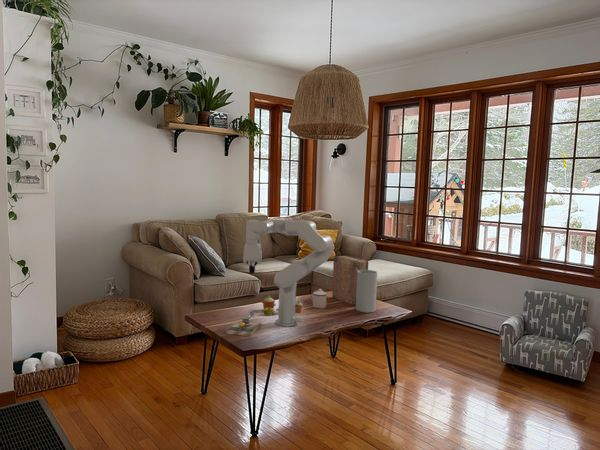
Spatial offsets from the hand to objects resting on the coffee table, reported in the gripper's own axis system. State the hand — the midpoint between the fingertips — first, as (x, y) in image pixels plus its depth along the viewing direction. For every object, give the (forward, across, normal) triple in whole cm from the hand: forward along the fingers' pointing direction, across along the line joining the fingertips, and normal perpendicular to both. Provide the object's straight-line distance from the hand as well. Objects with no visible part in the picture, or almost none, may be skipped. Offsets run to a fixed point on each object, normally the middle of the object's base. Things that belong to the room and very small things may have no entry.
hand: (252, 272), depth 268 cm
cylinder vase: (+27, -63, -41) cm, 80 cm away
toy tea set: (+28, -13, -20) cm, 37 cm away
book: (+27, -50, -60) cm, 83 cm away
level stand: (+27, -3, +20) cm, 34 cm away
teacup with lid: (+27, -32, -40) cm, 58 cm away
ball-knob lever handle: (+25, -3, +15) cm, 29 cm away
